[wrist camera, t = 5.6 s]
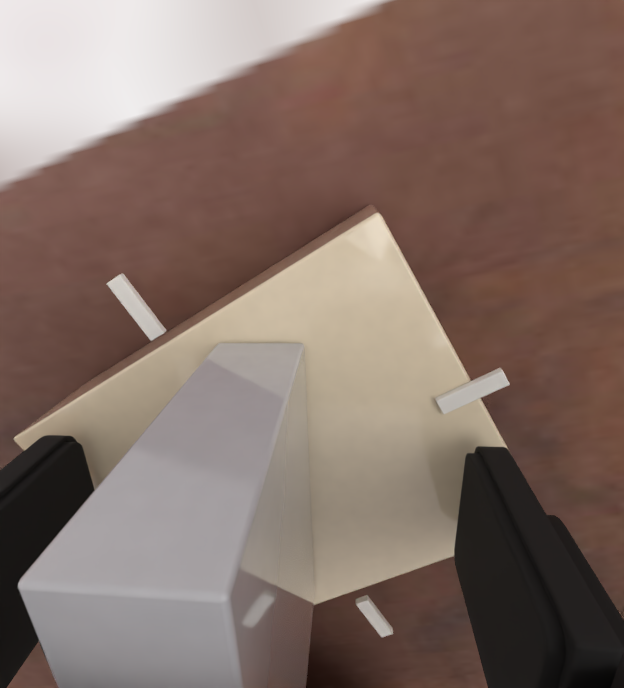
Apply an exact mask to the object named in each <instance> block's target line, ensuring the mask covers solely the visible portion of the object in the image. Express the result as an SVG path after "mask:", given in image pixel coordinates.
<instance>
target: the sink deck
mask: <svg viewBox="0 0 624 688" xmlns="http://www.w3.org/2000/svg"><path fill="white" fill-rule="evenodd" d="M107 285H108V287H109V288H110V289H111V290H112V292H113V293H114V294H115V296H116V297H117V298H118V299H119V301H120V302H121V303H122V305H123V306H124V307H125V308H126V310H127V311H128V312H129V314H130V315H131V316H132V317H133V319H134V320H135V321H136V323H137V324H138V325H139V326H140V328H141V329H142V330H143V332H144V333H145V334H146V335H147V337H148V338H149V339H150V341H152V342H151V343H149V344H147V345H146V346H144V347H143V348H141V349H139V350H138V351H136V352H135V353H133V354H132V355H130V356H128V357H127V358H125V359H124V360H122V361H120V362H119V363H117V364H116V365H114V366H112V367H111V368H109V369H108V370H106V371H104V372H103V373H101V374H100V375H98V376H97V377H95V378H93V379H92V380H90V381H89V382H87V383H85V384H84V385H83V386H81V387H80V388H79V389H77V390H76V391H75V392H73V393H72V394H71V395H69V396H68V397H67V398H65V399H64V400H63V401H61V402H60V403H59V404H57V405H56V406H55V407H53V408H52V409H51V410H49V411H48V412H47V413H45V414H44V415H43V416H41V417H40V418H39V419H37V420H36V421H35V422H33V423H32V424H31V425H29V426H28V427H27V428H25V429H24V430H23V431H21V432H20V433H19V434H17V435H16V436H15V438H14V441H15V442H16V443H17V444H18V445H19V446H20V447H21V448H22V449H23V450H24V451H25V450H26V449H27V448H28V447H30V446H31V445H32V444H33V443H35V442H36V441H37V440H38V439H39V438H41V437H43V436H46V435H63V436H72V437H74V438H75V439H76V441H77V442H78V443H80V444H81V445H82V447H83V450H84V453H85V457H86V461H87V464H88V468H89V471H90V475H91V479H92V482H93V486H94V490H95V489H96V488H97V487H98V486H99V484H100V483H101V482H102V481H103V480H104V478H105V477H106V476H107V475H108V474H109V473H110V471H111V470H112V469H113V468H114V467H115V465H116V464H117V463H118V462H119V461H120V459H121V458H122V457H123V456H124V455H125V453H126V452H127V451H128V450H129V449H130V448H131V446H132V445H133V444H134V443H135V442H136V440H137V439H138V438H139V437H140V436H141V434H142V433H143V432H144V431H145V430H146V428H147V427H148V426H149V425H150V424H151V422H152V421H153V420H154V419H155V418H156V417H157V415H158V414H159V413H160V412H161V411H162V409H163V408H164V407H165V406H166V405H167V403H168V402H169V401H170V400H171V399H172V397H173V396H174V395H175V394H176V393H177V392H178V390H179V389H180V388H181V387H182V386H183V384H184V383H185V382H186V381H187V380H188V378H189V377H190V376H191V375H192V374H193V372H194V371H195V370H196V369H197V368H198V367H199V365H200V364H201V363H202V362H203V361H204V359H205V358H206V357H207V356H208V355H209V353H210V352H211V351H212V350H213V349H214V347H215V346H216V345H217V344H218V343H302V344H304V346H305V370H306V394H307V419H308V443H309V467H310V492H311V516H312V541H313V565H314V590H315V594H314V604H313V605H316V604H319V603H322V602H325V601H328V600H330V599H333V598H336V597H339V596H342V595H345V594H347V593H350V592H353V591H356V590H359V589H362V588H365V587H367V586H370V585H373V584H376V583H379V582H382V581H384V580H387V579H390V578H393V577H396V576H399V575H402V574H404V573H407V572H410V571H413V570H416V569H419V568H421V567H424V566H427V565H430V564H433V563H436V562H439V561H441V560H444V559H447V558H450V557H453V556H454V547H455V539H456V531H457V522H458V514H459V506H460V498H461V489H462V481H463V473H464V465H465V458H466V454H467V453H474V452H475V449H476V447H478V446H486V447H506V448H507V449H508V447H507V446H506V444H505V442H504V440H503V438H502V436H501V435H500V433H499V431H498V429H497V427H496V425H495V423H494V422H493V420H492V418H491V416H490V414H489V412H488V411H487V409H486V407H485V405H484V403H483V401H482V399H481V397H484V396H486V395H488V394H490V393H493V392H495V391H497V390H499V389H501V388H504V387H506V386H508V385H510V384H509V382H508V380H507V378H506V376H505V374H504V372H503V370H502V369H501V368H498V369H496V370H494V371H491V372H489V373H487V374H485V375H483V376H481V377H479V378H476V379H474V380H472V381H471V379H470V377H469V376H468V374H467V372H466V370H465V368H464V366H463V364H462V363H461V361H460V359H459V357H458V355H457V353H456V352H455V350H454V348H453V346H452V344H451V342H450V340H449V339H448V337H447V335H446V333H445V331H444V329H443V328H442V326H441V324H440V322H439V320H438V318H437V316H436V315H435V313H434V311H433V309H432V307H431V305H430V304H429V302H428V300H427V298H426V296H425V294H424V292H423V291H422V289H421V287H420V285H419V283H418V281H417V280H416V278H415V276H414V274H413V272H412V270H411V269H410V267H409V265H408V263H407V261H406V259H405V257H404V256H403V254H402V252H401V250H400V248H399V246H398V245H397V243H396V241H395V239H394V237H393V235H392V233H391V232H390V230H389V228H388V226H387V224H386V222H385V221H384V219H383V217H382V215H381V214H380V213H379V212H378V210H377V209H376V208H375V207H374V206H373V205H369V206H367V207H365V208H364V209H362V210H361V211H359V212H358V213H356V214H354V215H353V216H351V217H350V218H348V219H346V220H345V221H343V222H342V223H340V224H338V225H337V226H335V227H334V228H332V229H330V230H329V231H327V232H326V233H324V234H323V235H321V236H319V237H318V238H316V239H315V240H313V241H311V242H310V243H308V244H307V245H305V246H303V247H302V248H300V249H299V250H297V251H295V252H294V253H292V254H291V255H289V256H287V257H286V258H284V259H283V260H281V261H280V262H278V263H276V264H275V265H273V266H272V267H270V268H268V269H267V270H265V271H264V272H262V273H260V274H259V275H257V276H256V277H254V278H252V279H251V280H249V281H248V282H246V283H245V284H243V285H241V286H240V287H238V288H237V289H235V290H233V291H232V292H230V293H229V294H227V295H225V296H224V297H222V298H221V299H219V300H217V301H216V302H214V303H213V304H211V305H210V306H208V307H206V308H205V309H203V310H202V311H200V312H198V313H197V314H195V315H194V316H192V317H190V318H189V319H187V320H186V321H184V322H182V323H181V324H179V325H178V326H176V327H175V328H173V329H171V330H170V331H168V332H167V333H165V332H166V329H165V328H164V326H163V325H162V324H161V323H160V321H159V320H158V319H157V317H156V316H155V315H154V313H153V312H152V311H151V309H150V308H149V307H148V305H147V304H146V303H145V301H144V300H143V299H142V297H141V296H140V295H139V294H138V292H137V291H136V290H135V288H134V287H133V286H132V284H131V283H130V282H129V280H128V279H127V278H126V276H125V275H124V274H120V275H118V276H117V277H115V278H114V279H112V280H111V281H109V282H108V283H107ZM164 333H165V334H164ZM162 334H163V335H162ZM160 335H162V336H160ZM159 336H160V337H159ZM157 337H159V338H157ZM156 338H157V339H156ZM154 339H155V340H154ZM153 340H154V341H153ZM508 450H509V449H508ZM509 452H510V451H509ZM510 454H511V453H510ZM356 605H357V607H358V608H359V609H360V610H361V612H362V613H363V614H364V616H365V617H366V618H367V619H368V621H369V622H370V623H371V625H372V626H373V627H374V628H375V630H376V631H377V632H378V634H379V635H380V636H381V637H385V636H388V635H391V634H393V628H392V627H391V625H390V624H389V623H388V621H387V620H386V619H385V618H384V616H383V615H382V614H381V612H380V611H379V610H378V608H377V607H376V606H375V604H374V603H373V602H372V600H371V599H370V598H369V596H368V595H365V596H363V597H360V598H357V599H356Z"/></svg>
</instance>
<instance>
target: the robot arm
mask: <svg viewBox="0 0 624 688" xmlns="http://www.w3.org/2000/svg"><path fill="white" fill-rule="evenodd" d="M93 492H94V486H93V482H92V479H91V475H90V471H89V468H88V464H87V461H86V457H85V453H84V450H83V447H82V445H81V444H80V443H78V442H77V441H76V439H75V438H74V437H72V436H63V435H46V436H43V437H41V438H39V439H38V440H37V441H36V442H35V443H33V444H32V445H31V446H30V447H28V448H27V449H26V450H25V451H24V452H22V453H21V454H20V455H19V456H17V457H16V458H15V459H14V460H12V461H11V462H10V463H9V464H8V465H6V466H5V467H4V468H3V469H1V470H0V688H7V686H8V685H9V683H10V682H11V680H12V679H13V677H14V676H15V675H16V673H17V672H18V670H19V669H20V667H21V666H22V664H23V663H24V661H25V660H26V659H27V657H28V656H29V654H30V653H31V651H32V650H33V648H34V647H35V645H36V644H37V643H38V641H39V640H38V638H37V635H36V633H35V630H34V628H33V626H32V623H31V621H30V618H29V616H28V613H27V611H26V608H25V606H24V603H23V601H22V598H21V596H20V593H19V591H18V583H19V580H20V579H21V577H22V576H23V575H24V574H25V573H26V571H27V570H28V569H29V568H30V567H31V565H32V564H33V563H34V562H35V561H36V559H37V558H38V557H39V556H40V555H41V554H42V552H43V551H44V550H45V549H46V548H47V546H48V545H49V544H50V543H51V542H52V540H53V539H54V538H55V537H56V536H57V534H58V533H59V532H60V531H61V530H62V529H63V527H64V526H65V525H66V524H67V523H68V521H69V520H70V519H71V518H72V517H73V515H74V514H75V513H76V512H77V511H78V509H79V508H80V507H81V506H82V505H83V503H84V502H85V501H86V500H87V499H88V498H89V496H90V495H91V494H92V493H93ZM454 557H455V565H456V569H457V573H458V577H459V581H460V584H461V588H462V592H463V595H464V599H465V603H466V607H467V610H468V614H469V618H470V622H471V625H472V629H473V633H474V636H475V640H476V644H477V648H478V651H479V655H480V659H481V663H482V666H483V670H484V674H485V677H486V681H487V685H488V688H624V620H623V619H622V617H621V615H620V614H619V612H618V611H617V609H616V607H615V606H614V604H613V602H612V601H611V599H610V598H609V596H608V594H607V593H606V591H605V590H604V588H603V586H602V585H601V583H600V581H599V580H598V578H597V577H596V575H595V573H594V572H593V570H592V569H591V567H590V565H589V564H588V562H587V560H586V559H585V557H584V556H583V554H582V552H581V551H580V549H579V548H578V546H577V544H576V543H575V541H574V539H573V538H572V536H571V535H570V533H569V531H568V530H567V528H566V527H565V525H564V524H563V523H562V521H561V520H560V519H559V518H558V517H556V516H554V515H546V514H545V512H544V510H543V508H542V507H541V505H540V503H539V502H538V500H537V498H536V496H535V495H534V493H533V491H532V490H531V488H530V486H529V484H528V483H527V481H526V479H525V478H524V476H523V474H522V472H521V471H520V469H519V467H518V466H517V464H516V462H515V460H514V459H513V457H512V455H511V454H510V452H509V450H508V449H507V448H506V447H486V446H478V447H476V449H475V452H474V453H467V454H466V458H465V465H464V473H463V481H462V489H461V498H460V506H459V514H458V522H457V531H456V539H455V547H454Z"/></svg>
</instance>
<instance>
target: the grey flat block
mask: <svg viewBox="0 0 624 688" xmlns="http://www.w3.org/2000/svg"><path fill="white" fill-rule="evenodd" d="M18 591H19V593H20V596H21V598H22V601H23V603H24V606H25V608H26V611H27V613H28V616H29V618H30V621H31V623H32V626H33V628H34V630H35V633H36V635H37V638H38V640H39V643H40V645H41V648H42V650H43V653H44V655H45V658H46V660H47V663H48V665H49V668H50V670H51V673H52V675H53V678H54V680H55V683H56V685H57V688H306V680H307V669H308V658H309V648H310V637H311V626H312V615H313V604H314V594H315V590H314V565H313V541H312V516H311V492H310V467H309V443H308V419H307V394H306V370H305V346H304V344H302V343H218V344H217V345H216V346H215V347H214V349H213V350H212V351H211V352H210V353H209V355H208V356H207V357H206V358H205V359H204V361H203V362H202V363H201V364H200V365H199V367H198V368H197V369H196V370H195V371H194V372H193V374H192V375H191V376H190V377H189V378H188V380H187V381H186V382H185V383H184V384H183V386H182V387H181V388H180V389H179V390H178V392H177V393H176V394H175V395H174V396H173V397H172V399H171V400H170V401H169V402H168V403H167V405H166V406H165V407H164V408H163V409H162V411H161V412H160V413H159V414H158V415H157V417H156V418H155V419H154V420H153V421H152V422H151V424H150V425H149V426H148V427H147V428H146V430H145V431H144V432H143V433H142V434H141V436H140V437H139V438H138V439H137V440H136V442H135V443H134V444H133V445H132V446H131V448H130V449H129V450H128V451H127V452H126V453H125V455H124V456H123V457H122V458H121V459H120V461H119V462H118V463H117V464H116V465H115V467H114V468H113V469H112V470H111V471H110V473H109V474H108V475H107V476H106V477H105V478H104V480H103V481H102V482H101V483H100V484H99V486H98V487H97V488H96V489H95V490H94V492H93V493H92V494H91V495H90V496H89V498H88V499H87V500H86V501H85V502H84V503H83V505H82V506H81V507H80V508H79V509H78V511H77V512H76V513H75V514H74V515H73V517H72V518H71V519H70V520H69V521H68V523H67V524H66V525H65V526H64V527H63V529H62V530H61V531H60V532H59V533H58V534H57V536H56V537H55V538H54V539H53V540H52V542H51V543H50V544H49V545H48V546H47V548H46V549H45V550H44V551H43V552H42V554H41V555H40V556H39V557H38V558H37V559H36V561H35V562H34V563H33V564H32V565H31V567H30V568H29V569H28V570H27V571H26V573H25V574H24V575H23V576H22V577H21V579H20V580H19V583H18Z"/></svg>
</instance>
